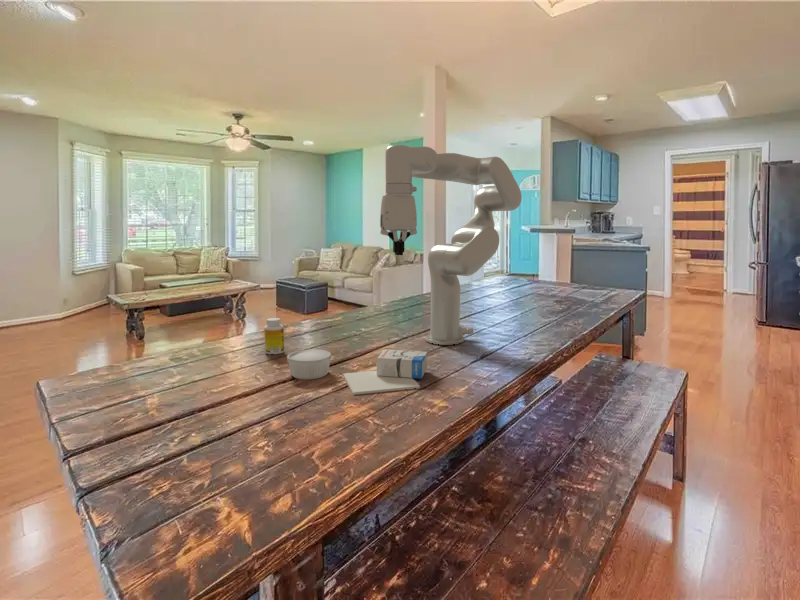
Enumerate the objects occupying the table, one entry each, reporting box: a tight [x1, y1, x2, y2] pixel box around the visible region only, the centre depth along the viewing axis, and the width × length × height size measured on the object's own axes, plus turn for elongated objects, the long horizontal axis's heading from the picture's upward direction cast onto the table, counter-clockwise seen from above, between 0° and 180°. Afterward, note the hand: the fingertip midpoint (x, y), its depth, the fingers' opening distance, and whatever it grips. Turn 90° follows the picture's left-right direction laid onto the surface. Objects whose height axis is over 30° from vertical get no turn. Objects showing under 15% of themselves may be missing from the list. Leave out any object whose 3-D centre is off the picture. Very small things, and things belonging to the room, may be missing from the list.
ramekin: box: [286, 348, 332, 380], centre depth 125 cm, size 11×11×5 cm
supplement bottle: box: [263, 317, 285, 355], centre depth 144 cm, size 6×6×10 cm
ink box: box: [376, 348, 428, 380], centre depth 124 cm, size 9×5×12 cm
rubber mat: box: [342, 370, 421, 396], centre depth 119 cm, size 16×14×1 cm
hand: (398, 254), depth 141 cm, fingers closed
